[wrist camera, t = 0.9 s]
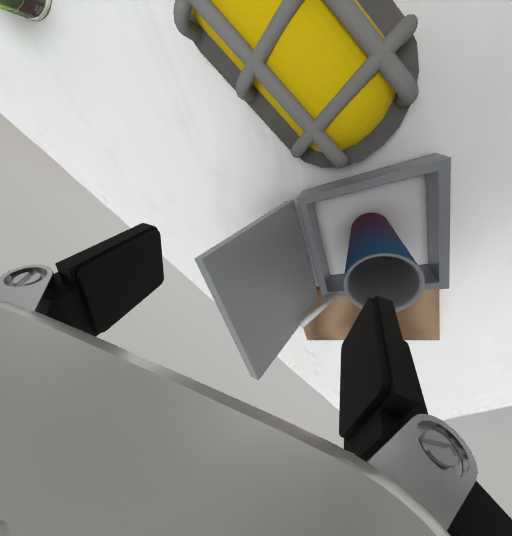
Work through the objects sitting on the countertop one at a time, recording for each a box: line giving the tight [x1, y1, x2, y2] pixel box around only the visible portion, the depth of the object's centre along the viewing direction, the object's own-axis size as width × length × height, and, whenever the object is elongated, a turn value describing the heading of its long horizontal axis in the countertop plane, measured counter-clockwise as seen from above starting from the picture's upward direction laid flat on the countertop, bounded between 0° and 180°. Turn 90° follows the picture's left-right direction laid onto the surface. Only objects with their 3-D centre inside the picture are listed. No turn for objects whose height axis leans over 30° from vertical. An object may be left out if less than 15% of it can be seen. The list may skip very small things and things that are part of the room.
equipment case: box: [297, 153, 451, 327], centre depth 30 cm, size 18×16×12 cm
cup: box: [344, 213, 425, 312], centre depth 28 cm, size 7×7×15 cm
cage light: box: [174, 0, 419, 168], centre depth 24 cm, size 15×8×30 cm
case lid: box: [195, 200, 319, 380], centre depth 29 cm, size 16×16×1 cm
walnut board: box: [303, 287, 440, 340], centre depth 41 cm, size 22×12×1 cm, turn 109°
